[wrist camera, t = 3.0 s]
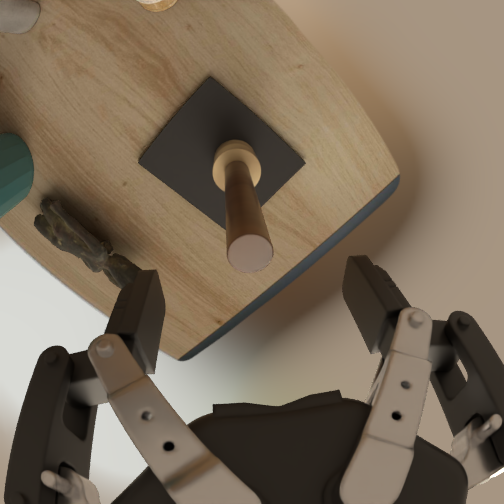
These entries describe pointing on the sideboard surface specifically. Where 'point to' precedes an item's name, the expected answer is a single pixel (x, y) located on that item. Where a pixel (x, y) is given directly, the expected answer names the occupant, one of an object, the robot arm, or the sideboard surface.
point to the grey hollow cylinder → (18, 15)
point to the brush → (242, 206)
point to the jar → (14, 171)
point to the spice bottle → (157, 4)
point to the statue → (83, 244)
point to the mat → (207, 142)
